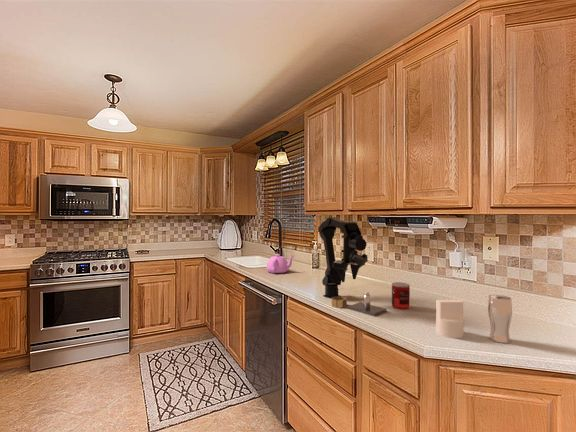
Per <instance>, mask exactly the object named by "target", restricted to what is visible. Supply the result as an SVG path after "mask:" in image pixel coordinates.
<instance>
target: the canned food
mask: <svg viewBox="0 0 576 432" xmlns="http://www.w3.org/2000/svg"><path fill="white" fill-rule="evenodd" d="M410 290H411V289H410V283H406V282H399V281H397V282H395V281H394V282H392V284H391V306H392V307H393V308H394V309H396V310H408V309H409V308H410V305H411V304H410V300H411V298H410Z"/></svg>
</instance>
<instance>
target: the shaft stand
mask: <svg viewBox="0 0 576 432" xmlns="http://www.w3.org/2000/svg"><path fill="white" fill-rule="evenodd" d="M347 310H351V311H355V312H358V313H362V314H366V315H369V316H373V317H376V316H379V315H381V314H383V313H386V312H388V311H387V308H385V307H380V306H378V305H373V304H371V294H370V292H367V291H366V292H365V293H364V294H363V302H362V301H360V302H357V303H354V304H350V305H347Z"/></svg>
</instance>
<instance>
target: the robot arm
mask: <svg viewBox="0 0 576 432" xmlns="http://www.w3.org/2000/svg"><path fill="white" fill-rule="evenodd" d="M317 229H318V232H319V237H320V238H321V240H322V241H323V247H324V251H325V252H324V254H325V262H326V269H325V270H324V271H325V272H324V277H323V278H322V281H321V282H322V285H323V286H324V288H325V289H324V294H323V297H325V298H329V299H332V297H336V296H341V295H339V286H341V283H345V280H346V272H347V271H348V270H349V268H348V266H350V271H351V275H352V279H353V280H356V278H357V276H358V273H359V270H360V268H361V267H363V266H366V263H367V262H368V261H369V260H368V259H369V258H368V254H366V253H363V254H359V252H362V251H364V250H365V249H366V248H367V245H368V244H367V241H366V240H365V239H364V237H363V235H362V231H361V229H360V227H359V225H358V223H357V222H356V221H346V220H342V219H339V218H338V217H336V216H335V217H334V216H333V217H331V216H330V217H327V218H326V220H324V221H322V222H321V223H320V225H319V227H318V228H317ZM337 229H339V231H340V232H341V233H342V235H341V238H342V239H343V241H342V244H343V246H342V249H341V253H343V254H342V255H343V256H342V258H341V259H340V260H336V256H335V255H336V254H335V248H334V240H333V239H334V236H335V232H336V230H337Z"/></svg>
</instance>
